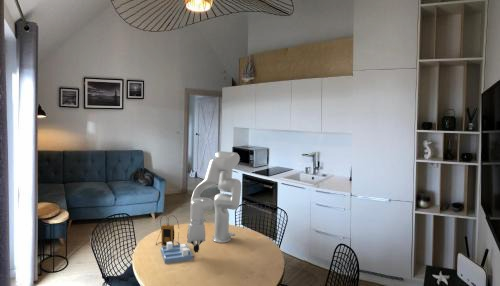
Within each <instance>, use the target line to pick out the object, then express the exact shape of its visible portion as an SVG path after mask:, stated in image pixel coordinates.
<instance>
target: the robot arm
mask: <svg viewBox="0 0 500 286" xmlns="http://www.w3.org/2000/svg"><path fill="white" fill-rule="evenodd" d="M240 159H241V157H240V155H239V154H238V152H232V151H217V152H216V153H215V154H214V158H211V159H210V161H209V163H208V165H207V169H206V172H205V176H204V179H203V180H202V181H201V182H200V183H198V185H197V186H196V187H195V188H194V190H193V192H192V196H191V198H190V211H189V212H190V219H189V221H190V222H189V223H188V227H187V237H186V238H187V244H192V246H193V248H192V249H193V252H194V253H195V254H197V253H199V251H200V245H201V244H202V243H204V242H206V227H205V225H206V224H205V222H206V218H204V212H209V211H211V210H212V209H214V236H212V238H211V240H212V241H213V242H215V243H223V244H225V243H227V242H228V243H229V242H230V241H231V240H232V238H231V237H236V232H230V231H229V230H230V223H229V222H230V212H229V210H232V211H233V210H237V209H238V208H239V206H240V201H241V196H242V195H241V194H242V182H241V180H240V179H238V178H233V169H234V168H235V167H237V165H238V164H239V162H240ZM216 185H217V189H218V190H219V191H220V192H221V193H220V192H219V193H217V194H216V195H214V197H213V199H212V198H210V197H204V196H201V194H202V193H203V192H204V190H207V189H209V188H211V187H214V186H216ZM222 192H225V193H222ZM227 193H228V194H227ZM229 193H231V194H229Z"/></svg>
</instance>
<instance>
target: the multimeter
mask: <svg viewBox="0 0 500 286" xmlns="http://www.w3.org/2000/svg"><path fill="white" fill-rule="evenodd" d="M164 216H165V217H166V218H167V222H166V224H162V219H163V218H162V217H163V216H161V218H160V220H159V221H160V222H159V223H160V225H161V227H160V232H159V235H158V237H157V240H156V242H155V244H158V240H159V237H160V234H161V241H160V242H159V244H160V243H161V246H167V242H171V241H172V244H173V245H175V244H174V243H177V245H180V244H181V243H180V241H178V240H177V241H176V240H175V225H174V224H170V219H169V218H170V217H175V215H171V214H170V215H169V216H167V215H166V214H164ZM175 219H176V221H177V222H176V223H177V226H178V228H180V226H179V221H178V219H177V216H176V217H175ZM179 235H180V233H178V236H177V237H178V238H177V239H179Z"/></svg>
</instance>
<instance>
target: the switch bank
mask: <svg viewBox="0 0 500 286" xmlns="http://www.w3.org/2000/svg"><path fill="white" fill-rule="evenodd" d="M184 244H185V245H186V247H187V248H188V256H182V252H180V244H179V245H178V244H173V249H170V250H167V246H166V245H164V246H160V253H161V256H162V259H163V262H164V264H170V263H177V262H184V261H192V260H194V258H193V257H194V255H193V253H192V252H191V249H190V247H189V246H188V243H184Z"/></svg>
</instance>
